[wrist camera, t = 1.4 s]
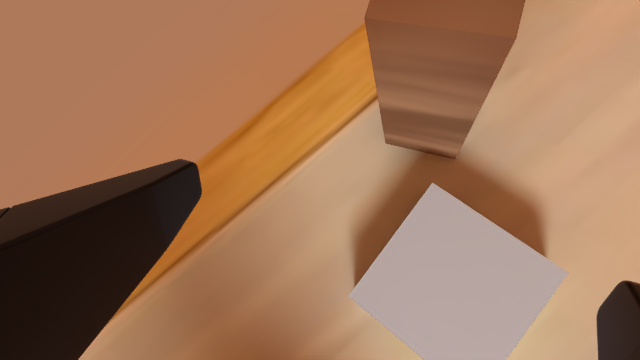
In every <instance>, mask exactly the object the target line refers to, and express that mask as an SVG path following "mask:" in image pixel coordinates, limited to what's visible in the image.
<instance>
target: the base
mask: <svg viewBox="0 0 640 360" xmlns="http://www.w3.org/2000/svg"><path fill="white" fill-rule="evenodd" d="M567 274H568V272H567V271H565V270H564V269H562V268H561V267H559V266H558V265H556V264H555V263H553V262H552V261H550V260H549V259H547V258H546V257H544V256H543V255H541V254H540V253H538V252H537V251H535V250H534V249H532V248H531V247H529V246H527V245H526V244H524V243H523V242H521V241H520V240H518V239H517V238H515V237H514V236H512V235H511V234H509V233H508V232H506V231H505V230H503V229H502V228H500V227H499V226H497V225H496V224H494V223H493V222H491V221H490V220H488V219H487V218H485V217H484V216H482V215H481V214H479V213H478V212H476V211H475V210H473V209H472V208H470V207H469V206H467V205H466V204H464V203H463V202H461V201H460V200H458V199H457V198H455V197H454V196H452V195H451V194H449V193H448V192H446V191H445V190H443V189H442V188H440V187H438V186H437V185H435V184H434V183H432V184H431V185H430V187H429V188H428V189H427V191H426V192H425V193H424V195H423V196H422V197H421V199H420V200H419V201H418V203H417V204H416V205H415V207H414V208H413V210H412V211H411V212H410V214H409V215H408V216H407V218H406V219H405V220H404V222H403V223H402V224H401V226H400V227H399V228H398V230H397V231H396V232H395V234H394V235H393V236H392V238H391V239H390V241H389V242H388V243H387V245H386V246H385V247H384V249H383V250H382V251H381V253H380V254H379V255H378V257H377V258H376V259H375V261H374V262H373V263H372V265H371V266H370V268H369V269H368V270H367V272H366V273H365V274H364V276H363V277H362V278H361V280H360V281H359V282H358V284H357V285H356V286H355V288H354V289H353V290H352V292H351V293H350V295H349V296H348V297H350V298H351V299H352V300H353V301H354V302H356V303H357V304H358V305H359V306H360V307H362V308H363V309H364V310H365V311H366V312H368V313H369V314H370V315H371V316H372V317H374V318H375V319H376V320H377V321H378V322H380V323H381V324H382V325H383V326H384V327H386V328H387V329H388V330H389V331H390V332H392V333H393V334H394V335H395V336H396V337H398V338H399V339H400V340H401V341H402V342H404V343H405V344H406V345H407V346H408V347H410V348H411V349H412V350H413V351H414V352H416V353H417V354H418V355H419V356H420V357H422V358H423V359H424V360H506V359H507V358H508V356H509V355H510V354H511V352H512V351H513V349H514V348H515V347H516V345H517V344H518V342H519V341H520V340H521V338H522V337H523V336H524V334H525V333H526V331H527V330H528V329H529V327H530V326H531V324H532V323H533V322H534V320H535V319H536V317H537V316H538V315H539V313H540V312H541V311H542V309H543V308H544V306H545V305H546V304H547V302H548V301H549V299H550V298H551V297H552V295H553V294H554V292H555V291H556V290H557V288H558V287H559V286H560V284H561V283H562V281H563V280H564V279H565V277H566V276H567Z"/></svg>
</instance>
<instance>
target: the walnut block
mask: <svg viewBox="0 0 640 360" xmlns="http://www.w3.org/2000/svg"><path fill="white" fill-rule="evenodd" d="M524 3H525V0H370V2H369V5H368V8H367V12H366V15H365V23H366V29H367V35H368V41H369V47H370V53H371V59H372V65H373V71H374V77H375V83H376V89H377V95H378V101H379V107H380V113H381V118H382V124H383V130H384V136H385V142H386V144H391V145H395V146H400V147H404V148H409V149H413V150H418V151H422V152H427V153H431V154H436V155H440V156H445V157H449V158H454V159H455V158H456V156H457V154H458V152H459V150H460V148H461V146H462V144H463V142H464V140H465V139H466V137H467V135H468V133H469V131H470V129H471V127H472V125H473V123H474V121H475V119H476V117H477V115H478V113H479V111H480V109H481V107H482V105H483V103H484V101H485V99H486V97H487V95H488V93H489V91H490V89H491V87H492V85H493V83H494V81H495V79H496V77H497V75H498V73H499V71H500V69H501V67H502V65H503V63H504V61H505V59H506V57H507V55H508V53H509V51H510V49H511V47H512V45H513V43H514V41H515V39H516V37H517V32H518V28H519V24H520V20H521V16H522V11H523V7H524Z"/></svg>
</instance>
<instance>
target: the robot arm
mask: <svg viewBox="0 0 640 360" xmlns="http://www.w3.org/2000/svg"><path fill="white" fill-rule="evenodd" d="M201 194H202V188H201V182H200V176H199V170H198V167H197V165H196V164H195V163H193V162H190V161H187V160H183V159H178V160H175V161H171V162H167V163H164V164H160V165H157V166H153V167H150V168H146V169H142V170H139V171H135V172H132V173H128V174H125V175H121V176H118V177H114V178H111V179H107V180H103V181H100V182H96V183H93V184H89V185H86V186H82V187H79V188H75V189H72V190H68V191H65V192H61V193H58V194H54V195H50V196H47V197H43V198H40V199H36V200H33V201H29V202H26V203H22V204H19V205H15V206H13V207H12V208H9V207H8V208H4V209H0V360H78V359H79V358H80V357H81V355H82V354H83V353H84V352H85V350H86V349H87V348H88V347H89V345H90V344H91V343H92V342H93V340H94V339H95V338H96V337H97V335H98V334H99V333H100V332H101V330H102V329H103V328H104V327H105V326H106V324H107V323H108V322H109V321H110V319H111V318H112V317H113V316H114V314H115V313H116V312H117V311H118V309H119V308H120V307H121V306H122V304H123V303H124V302H125V301H126V299H127V298H128V297H129V296H130V295H131V293H132V292H133V291H134V290H135V288H136V287H137V286H138V285H139V283H140V282H141V281H142V280H143V278H144V277H145V276H146V275H147V273H148V272H149V271H150V270H151V268H152V267H153V266H154V265H155V263H156V262H157V261H158V260H159V259H160V257H161V256H162V255H163V253H164V252H165V251H166V250H167V248H168V247H169V245H170V244H171V242H172V241H173V240H174V238H175V237H176V235H177V233H178V232H179V230H180V229H181V227H182V226H183V224H184V223H185V221H186V220H187V218H188V217H189V215H190V213H191V212H192V210H193V209H194V207H195V206H196V204H197V203H198V201H199V199H200V197H201ZM597 340H598V360H640V284H639V283H636V282H632V281H622V282H620V283H619V284H618V285H617V286H616V287H615V288H614V290H613V291H612V292H611V293H610V295H609V296H608V297H607V299H606V300H605V301H604V302H603V304H602V305H601V306H600V308H599V310H598V313H597Z"/></svg>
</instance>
